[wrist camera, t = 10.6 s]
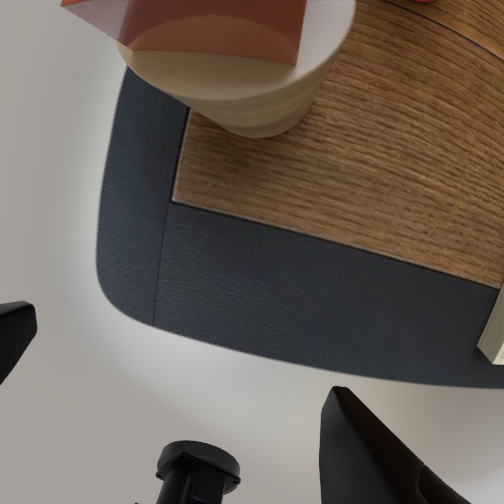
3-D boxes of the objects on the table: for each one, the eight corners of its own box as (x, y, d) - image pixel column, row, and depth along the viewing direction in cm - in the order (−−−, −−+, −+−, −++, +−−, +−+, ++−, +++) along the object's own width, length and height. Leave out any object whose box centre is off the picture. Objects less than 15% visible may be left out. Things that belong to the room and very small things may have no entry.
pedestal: (271, 160, 19) (258, 153, 7) (179, 100, 18) (72, 43, 7) (336, 74, 17) (398, -20, 6) (244, 17, 16) (207, -100, 5)
